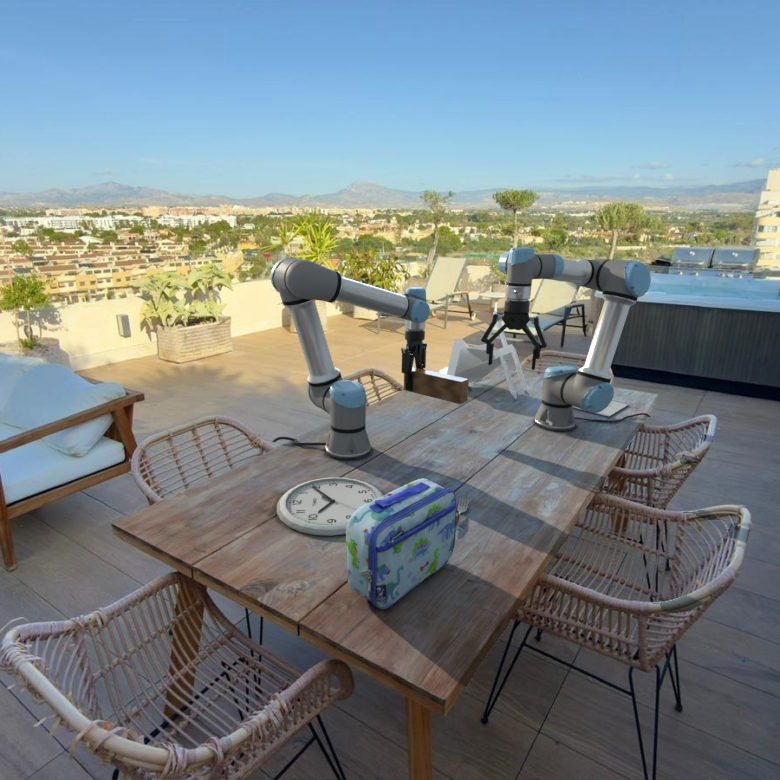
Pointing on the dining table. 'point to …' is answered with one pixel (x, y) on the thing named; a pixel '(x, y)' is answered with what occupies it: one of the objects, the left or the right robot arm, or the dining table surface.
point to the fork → (461, 509)
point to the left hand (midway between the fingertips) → (413, 388)
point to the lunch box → (400, 540)
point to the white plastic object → (483, 362)
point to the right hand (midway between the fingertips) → (511, 366)
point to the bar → (439, 385)
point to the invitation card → (610, 408)
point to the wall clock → (324, 504)
